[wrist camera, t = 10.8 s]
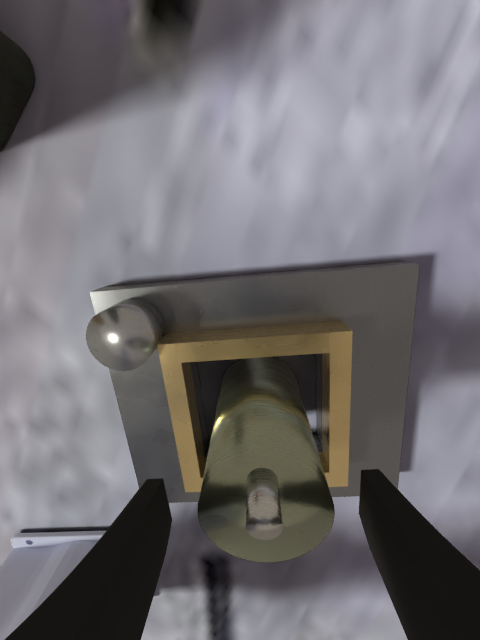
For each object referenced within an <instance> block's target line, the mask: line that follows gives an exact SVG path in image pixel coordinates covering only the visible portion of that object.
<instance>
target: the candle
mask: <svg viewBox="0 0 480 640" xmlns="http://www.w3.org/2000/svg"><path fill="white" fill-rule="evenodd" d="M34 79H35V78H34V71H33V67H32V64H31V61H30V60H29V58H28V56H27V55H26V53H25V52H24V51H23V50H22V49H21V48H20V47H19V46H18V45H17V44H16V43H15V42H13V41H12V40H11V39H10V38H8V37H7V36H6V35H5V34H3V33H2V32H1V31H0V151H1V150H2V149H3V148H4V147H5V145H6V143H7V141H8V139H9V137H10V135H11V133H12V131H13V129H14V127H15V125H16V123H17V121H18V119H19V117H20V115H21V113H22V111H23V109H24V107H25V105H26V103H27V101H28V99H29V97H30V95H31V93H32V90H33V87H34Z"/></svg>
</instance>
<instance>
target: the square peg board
mask: <svg viewBox="0 0 480 640" xmlns="http://www.w3.org/2000/svg"><path fill="white" fill-rule="evenodd" d="M419 265H420V264H416V263H410V262H405V261H398V262H386V263H375V264H363V265H351V266H340V267H328V268H316V269H305V270H293V271H281V272H270V273H258V274H246V275H235V276H223V277H211V278H200V279H188V280H176V281H165V282H153V283H141V284H129V285H118V286H106V287H102V288H100V289H97V290H94V291H92V292H90V295H91V299H92V303H93V307H94V311H95V316H94V317H93V318H92V319H91V321H90V322H89V324H88V327H87V331H86V341H87V345H88V348H89V350H90V352H91V353H92V355H93V356H94V357H95V358H96V359H97V360H98V361H99V362H100V363H101V364H103V365H104V366H106V367H108V368H109V370H110V374H111V378H112V382H113V386H114V390H115V394H116V398H117V402H118V406H119V410H120V414H121V418H122V422H123V426H124V430H125V433H126V437H127V441H128V445H129V449H130V453H131V457H132V461H133V465H134V469H135V473H136V477H137V481H138V485H139V489H140V487H141V486H142V485H143V483H144V482H145V481H146V480H147V479H160V478H163V480H164V485H165V489H166V494H167V498H168V503H174V502H199V497H200V492H201V487H202V482H203V477H204V471H205V466H206V461H207V456H208V451H209V446H210V440H211V439H208V433H207V427H206V420H205V413H204V407H203V400H202V393H201V387H200V380H199V373H198V367H197V362H200V361H215V360H230V359H245V358H260V357H275V356H290V355H305V354H316V403H317V434H313V438H314V441H315V444H316V447H317V451H318V454H319V457H320V461H321V464H322V467H323V470H324V474H325V477H326V480H327V484H328V487H329V490H330V493H331V497H346V496H360V480H361V470H369V469H379V470H380V471H381V472H382V473H383V474H384V475H385V476H386V477H387V478H388V479H389V481H390V482H391V483H392V484H393V485H394V486H395V487H396V488H397V489H398V481H399V470H400V460H401V450H402V440H403V429H404V419H405V409H406V398H407V388H408V378H409V368H410V357H411V347H412V337H413V326H414V316H415V306H416V296H417V285H418V275H419Z"/></svg>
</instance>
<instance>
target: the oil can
mask: <svg viewBox="0 0 480 640" xmlns="http://www.w3.org/2000/svg"><path fill="white" fill-rule="evenodd" d="M334 513H335V512H334V504H333V500H332V497H331V493H330V490H329V487H328V484H327V480H326V477H325V474H324V470H323V467H322V464H321V461H320V457H319V454H318V451H317V447H316V444H315V441H314V438H313V434H312V431H311V428H310V424H309V421H308V418H307V415H306V411H305V408H304V405H303V401H302V398H301V395H300V392H299V388H298V385H297V382H296V378H295V376H294V374H293V372H292V370H291V369H290V368H289V367H288V366H287V365H286V364H285V363H284V362H283V361H281V360H279V359H278V358H275V357H260V358H245V359H239V360H237V361H236V362H234V363H233V364H232V365H231V366H230V367H229V368H228V369H227V371H226V372H225V374H224V376H223V379H222V384H221V389H220V394H219V399H218V404H217V409H216V415H215V420H214V425H213V430H212V435H211V440H210V446H209V451H208V456H207V461H206V466H205V471H204V477H203V482H202V487H201V492H200V497H199V502H198V518H199V522H200V525H201V527H202V529H203V531H204V532H205V534H206V535H207V537H208V538H209V539H210V540H211V541H212V542H213V543H214V544H215V545H216V546H218V547H219V548H220V549H222V550H223V551H225V552H227V553H229V554H231V555H233V556H236V557H238V558H242V559H245V560H250V561H256V562H279V561H286V560H290V559H293V558H296V557H299V556H301V555H303V554H305V553H307V552H309V551H311V550H312V549H314V548H315V547H316V546H318V545H319V544H320V543H321V542H322V541H323V540H324V539H325V537H326V536H327V534H328V533H329V531H330V529H331V527H332V524H333V521H334Z"/></svg>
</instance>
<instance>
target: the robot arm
mask: <svg viewBox="0 0 480 640" xmlns="http://www.w3.org/2000/svg"><path fill="white" fill-rule="evenodd" d="M359 515H360V518H361V521H362V525H363V528H364V531H365V534H366V538H367V541H368V544H369V547H370V550H371V552H372V554H373V557H374V559H375V562H376V564H377V567H378V569H379V571H380V574H381V576H382V579H383V581H384V583H385V586H386V588H387V591H388V593H389V595H390V598H391V600H392V603H393V605H394V607H395V610H396V612H397V615H398V617H399V619H400V622H401V624H402V626H403V629H404V631H405V634H406V636H407V639H408V640H480V570H479V569H478V568H477V567H475V566H474V565H473V564H472V563H471V562H470V561H469V560H468V559H467V558H466V557H465V556H464V555H462V554H461V553H460V552H459V551H458V550H457V549H456V548H455V547H454V546H453V545H452V544H451V543H450V542H449V541H448V540H447V539H446V538H445V537H443V536H442V535H441V534H440V533H439V532H438V531H437V530H436V529H435V528H434V527H433V526H432V525H431V524H430V523H429V522H428V521H427V520H426V519H425V518H424V517H423V516H422V515H421V514H420V513H419V511H418V510H417V509H416V508H415V507H414V506H413V505H412V504H411V503H410V502H409V501H408V500H407V499H406V498H405V497H404V496H403V495H402V494H401V492H400V491H399V490H398V489H397V488H396V487H395V486H394V485H393V484H392V483H391V482H390V481H389V479H388V478H387V477H386V476H385V475H384V474H383V473H382V472H381V471H380V470H379V469H369V470H361V480H360V502H359ZM171 523H172V517H171V512H170V508H169V503H168V498H167V494H166V489H165V485H164V480H163V478H160V479H147V480H146V481H145V482H144V483H143V485H142V486H141V487H140V489H139V490H138V491H137V492H136V494H135V495H134V496H133V498H132V499H131V500H130V502H129V503H128V504H127V506H126V507H125V508H124V509H123V511H122V512H121V513H120V515H119V516H118V517H117V518H116V520H115V521H114V522H113V523H112V525H111V526H110V527H109V528H108V529H107V531H74V532H39V533H17V534H15V535H14V536H13V537H12V539H11V544H12V546H13V548H14V549H13V550H12V551H11V552H10V554H9V555H8V556H7V558H6V559H5V560H4V562H3V563H2V564H1V566H0V640H141V636H142V633H143V630H144V626H145V623H146V619H147V616H148V613H149V609H150V606H151V602H152V599H153V596H154V592H155V589H156V585H157V582H158V578H159V575H160V571H161V568H162V565H163V561H164V557H165V554H166V549H167V544H168V539H169V534H170V528H171Z"/></svg>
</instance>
